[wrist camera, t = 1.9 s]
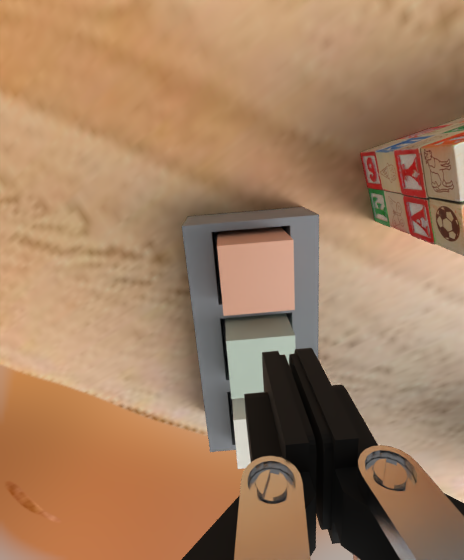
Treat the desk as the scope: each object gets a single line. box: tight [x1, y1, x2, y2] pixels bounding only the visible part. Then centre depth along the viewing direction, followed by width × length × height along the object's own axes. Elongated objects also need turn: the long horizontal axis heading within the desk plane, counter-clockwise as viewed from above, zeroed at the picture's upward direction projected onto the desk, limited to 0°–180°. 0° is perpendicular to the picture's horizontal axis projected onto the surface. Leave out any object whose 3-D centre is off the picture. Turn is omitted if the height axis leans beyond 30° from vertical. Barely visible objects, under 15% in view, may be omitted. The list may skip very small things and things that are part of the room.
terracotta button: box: [217, 227, 295, 316], centre depth 25 cm, size 5×5×5 cm
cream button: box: [232, 398, 251, 469], centre depth 30 cm, size 5×5×5 cm
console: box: [182, 207, 319, 452], centre depth 30 cm, size 10×21×5 cm, turn 4°
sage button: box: [225, 313, 296, 399], centre depth 27 cm, size 5×5×5 cm
